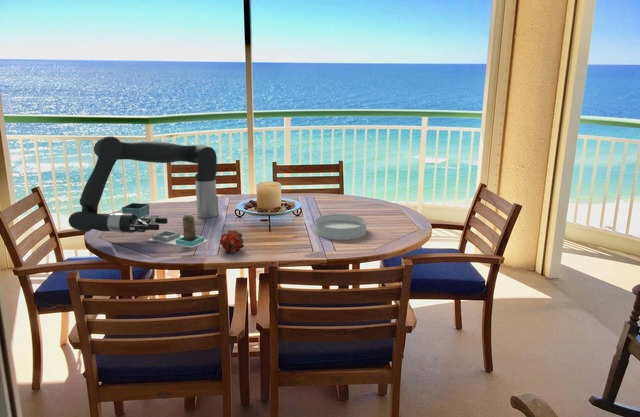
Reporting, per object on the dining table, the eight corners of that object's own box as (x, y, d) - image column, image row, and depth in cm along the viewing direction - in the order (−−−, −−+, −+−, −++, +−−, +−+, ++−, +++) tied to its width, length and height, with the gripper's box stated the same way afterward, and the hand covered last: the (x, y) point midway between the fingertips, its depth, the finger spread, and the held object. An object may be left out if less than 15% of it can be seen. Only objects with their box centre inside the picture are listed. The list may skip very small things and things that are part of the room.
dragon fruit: (235, 248, 192) (233, 264, 181) (217, 237, 190) (214, 252, 179) (247, 232, 190) (246, 247, 179) (229, 221, 187) (226, 235, 176)
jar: (193, 239, 194) (192, 212, 191) (197, 242, 191) (195, 215, 188) (182, 241, 192) (181, 214, 189) (186, 244, 188) (184, 217, 186)
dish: (371, 227, 216) (372, 216, 215) (358, 242, 196) (358, 231, 195) (324, 222, 223) (324, 212, 222) (307, 236, 203) (306, 225, 202)
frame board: (148, 242, 194) (147, 236, 194) (165, 235, 203) (165, 229, 202) (192, 250, 185) (191, 243, 185) (208, 242, 194) (208, 236, 193)
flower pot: (141, 228, 212) (139, 208, 210) (122, 227, 214) (120, 207, 211) (151, 223, 220) (150, 203, 218) (134, 221, 222) (132, 202, 220)
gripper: (113, 218, 183) (155, 219, 182) (129, 209, 197) (169, 210, 196) (115, 237, 185) (156, 238, 184) (131, 226, 199) (170, 227, 198)
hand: (163, 224), depth 190 cm, fingers open, 8 cm apart
